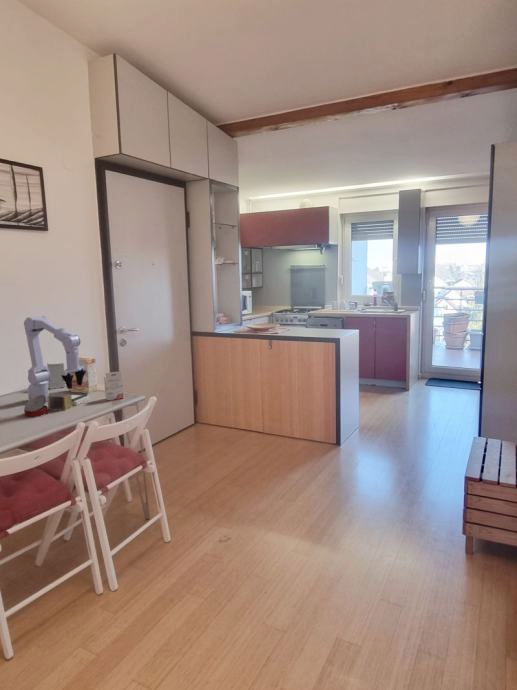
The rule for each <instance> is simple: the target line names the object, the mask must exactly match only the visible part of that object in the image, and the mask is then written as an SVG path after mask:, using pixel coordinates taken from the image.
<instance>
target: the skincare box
mask: <svg viewBox="0 0 517 690" xmlns="http://www.w3.org/2000/svg"><path fill="white" fill-rule="evenodd" d="M46 366H47V367H48V370H49V372H50V374H51V379H50V380H49V383H48V389H50V390H53V389H52V388H57V389H62V388H61V387H64V388H65V387H66V383H65V381H64V379H63V378H62V376H61V375H62V371H64V370H65V364H64V362H63V361H57V362H47V364H46Z"/></svg>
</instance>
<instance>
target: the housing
mask: <svg viewBox="0 0 517 690" xmlns="http://www.w3.org/2000/svg"><path fill="white" fill-rule="evenodd" d="M67 394H68V393H66V394H64V393H52V394H49V396H47V401H46V402H47V409H48V408H49V409H48V410H54V409H61V410H60V411H67V410H70V409H72V408H73V405H72V398H71V395H67ZM71 407H72V408H71ZM69 408H70V409H69ZM66 409H67V410H66Z"/></svg>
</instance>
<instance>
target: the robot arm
mask: <svg viewBox="0 0 517 690" xmlns="http://www.w3.org/2000/svg"><path fill="white" fill-rule="evenodd" d="M23 326H24V331H25V332H24V333H25V335H26V340H27V346H28V352H29V356H30V361H31V367H30V368H29V369H28V371H27V373H28V376H27V380H28V383H29V385H28V387H27V397H28V400H27V402H29V401H30V400H32V399H33V398H35V397H37V396H39V395H44V396H45V397H46V402H48V401H47V396H49V395H50V394H49V393H50V392H49V387H48V383H49V380H50V379H51V374H50V372H49V370H48V367H47V365H45V364H44V361H43V356H42V351H41V350H42V349H41V345H40V338H39V335H40V333H41V332H43V331H44V330H45V331H48V332H49V333H50V334H52V335H53V338H55V339H56V340H57V341H59V342H61V343H62V346H63V348H64V351H65V357H66V358H65V360H66V359H67V361H66V368H65V369H64V371H62V375H61V376H62V378H63V379H64V381H65V387H66V388H67V389H68V390H69V389H72V379H73V376H74V375H71V373H75V376H76V380H77V385H82V381H83V377H84V374H85V373H86V371H85V369H84V366H79V356H80V354H79V346H80V344H81V338H80V336H78V335H77V334H72V333H70V332H68V331H67V330H65V328H64V327H57V326H56V325H55V324H54V323H52V322H51V321H50V319H49V318H48V317H46V315H42V316H41V315H40V316H34V317H33V316H31V317H26V318H25V320H24V322H23Z"/></svg>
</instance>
